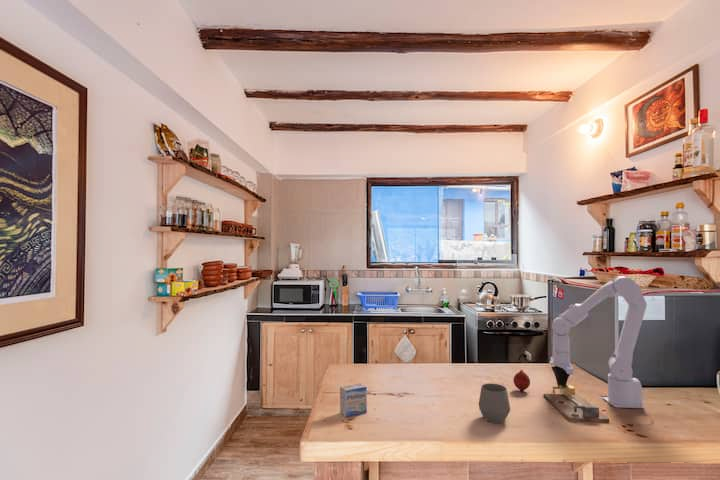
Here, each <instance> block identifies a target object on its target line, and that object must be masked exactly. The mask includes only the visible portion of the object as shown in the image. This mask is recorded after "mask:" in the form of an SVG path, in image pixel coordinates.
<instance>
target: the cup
mask: <svg viewBox="0 0 720 480" xmlns="http://www.w3.org/2000/svg"><path fill="white" fill-rule="evenodd" d="M508 394H509V393H508V389H507V387H506V386H504V385H502V384H499V383H498V384H497V383H493V382H491V383H484V384H482V385H481V389H480V395H479V400H478V408H479V411H480V413H481V415H482V417H483V418H484V419H485V420H486V421H488V422H490V423H493V424H501V423H504V422H505V421H506V419H507V418H508V415H509V413H510V411H511V405H510V401H509V395H508Z"/></svg>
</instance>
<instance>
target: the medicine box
mask: <svg viewBox="0 0 720 480" xmlns="http://www.w3.org/2000/svg"><path fill="white" fill-rule="evenodd" d="M367 393H368V391H367V386H366V385H365V384H363V383H356V384H350V385H346V386H340V387H339V399H340V400H339V401H340V402H339V403H340V404H339V412H340V414H342V416H343V417H345V418H347V419H348V418H350V417H354V416H359V415H363V414H367V413H368V409H367V408H368V407H367V406H368V401H367V400H368V399H367V397H368V394H367Z"/></svg>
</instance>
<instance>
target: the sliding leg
mask: <svg viewBox="0 0 720 480" xmlns="http://www.w3.org/2000/svg"><path fill="white" fill-rule="evenodd" d="M556 390H559V394H563V395H575V394H576V388H575V387H574V386H573V385H572V384H566V385H560V387H558V386H552V394H556V392H555V391H556Z"/></svg>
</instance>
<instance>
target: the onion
mask: <svg viewBox="0 0 720 480" xmlns="http://www.w3.org/2000/svg"><path fill="white" fill-rule="evenodd" d="M513 384H514V386H515V387H516V388H517V389H518V390H519V391H521V392H524V391H526V390H527V389H529V387H530V385H531V380H530V377H529V375H528V374H527V373H525V371H524V369H520V370H519V371H518V372H517V373H516V374H515V375H514V376H513Z"/></svg>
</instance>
